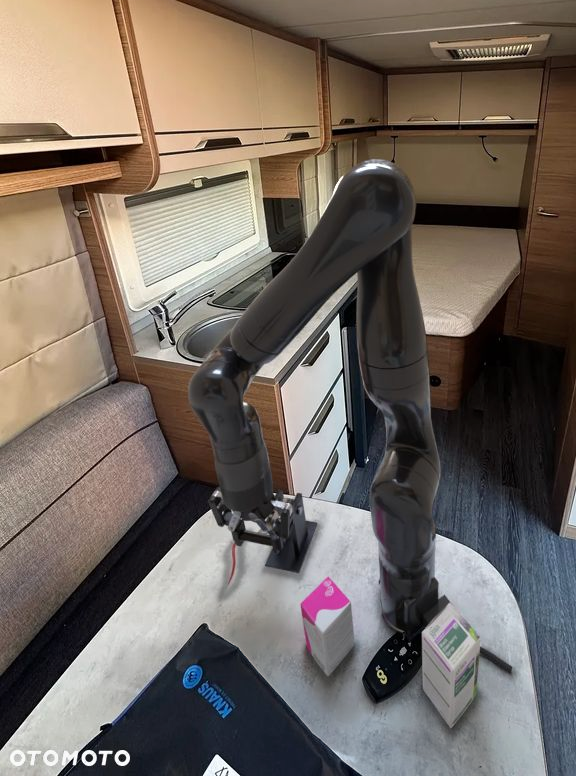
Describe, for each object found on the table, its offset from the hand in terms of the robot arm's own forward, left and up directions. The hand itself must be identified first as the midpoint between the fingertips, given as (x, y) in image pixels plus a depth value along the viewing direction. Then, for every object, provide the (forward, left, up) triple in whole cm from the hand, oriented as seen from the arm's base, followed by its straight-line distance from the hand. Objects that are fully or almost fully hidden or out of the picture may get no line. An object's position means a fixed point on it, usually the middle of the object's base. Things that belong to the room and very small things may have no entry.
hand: (259, 544), depth 66 cm
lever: (+3, -3, -2) cm, 5 cm away
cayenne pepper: (+10, +4, -15) cm, 18 cm away
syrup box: (-27, -18, -15) cm, 35 cm away
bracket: (+7, -7, -14) cm, 17 cm away
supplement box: (-12, -6, -15) cm, 20 cm away
